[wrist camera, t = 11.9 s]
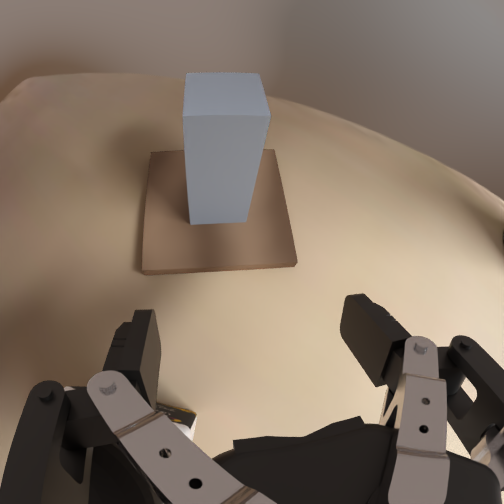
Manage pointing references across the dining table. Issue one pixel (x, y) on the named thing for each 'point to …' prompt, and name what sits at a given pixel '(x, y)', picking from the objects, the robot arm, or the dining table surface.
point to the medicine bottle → (128, 466)
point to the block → (223, 143)
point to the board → (213, 235)
